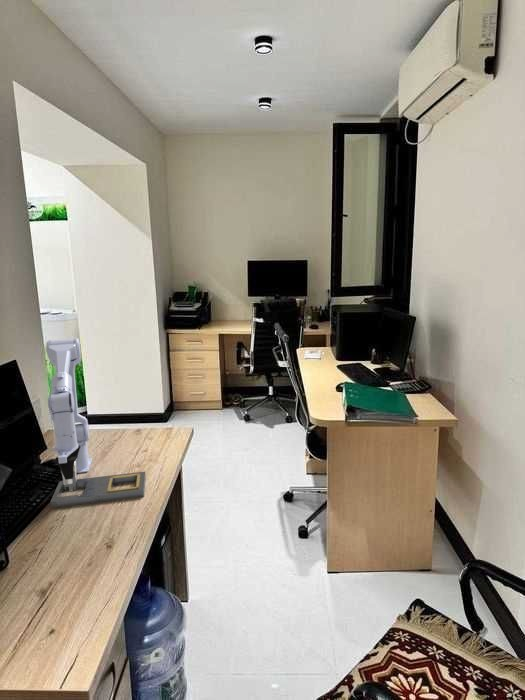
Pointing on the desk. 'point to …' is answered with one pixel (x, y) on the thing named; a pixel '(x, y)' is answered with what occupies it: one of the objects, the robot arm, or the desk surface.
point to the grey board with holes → (101, 490)
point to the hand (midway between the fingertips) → (70, 474)
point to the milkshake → (71, 481)
